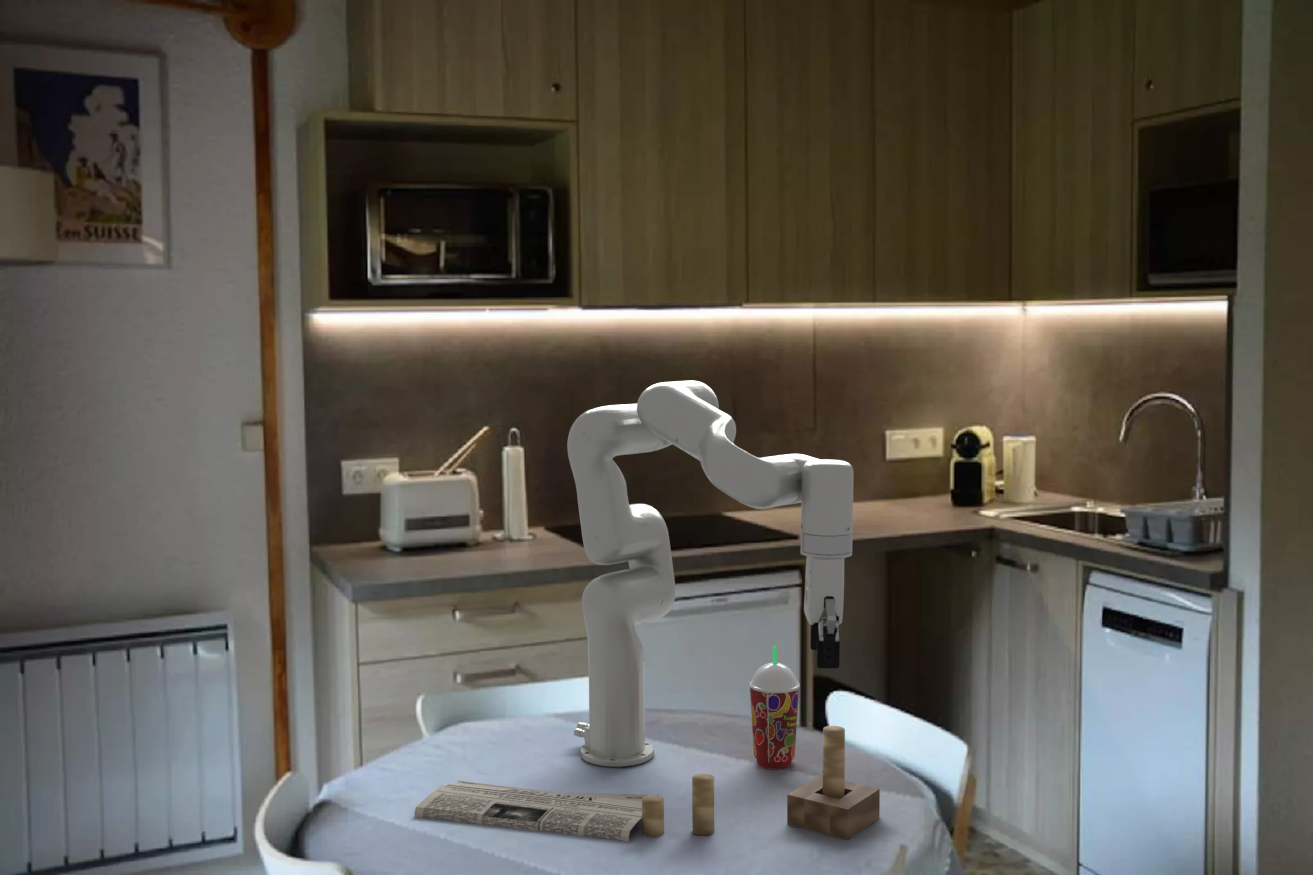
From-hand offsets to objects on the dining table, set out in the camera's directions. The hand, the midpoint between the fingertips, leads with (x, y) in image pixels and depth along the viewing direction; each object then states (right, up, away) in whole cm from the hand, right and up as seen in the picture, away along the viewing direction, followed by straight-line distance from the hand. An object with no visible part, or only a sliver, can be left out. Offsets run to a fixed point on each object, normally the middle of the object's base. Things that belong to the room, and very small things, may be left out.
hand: (824, 658), depth 192 cm
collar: (+2, -24, +1) cm, 24 cm away
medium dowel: (-18, -25, -2) cm, 31 cm away
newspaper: (-43, -25, +5) cm, 50 cm away
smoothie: (-5, -22, +26) cm, 35 cm away
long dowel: (+2, -24, +1) cm, 24 cm away
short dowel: (-25, -25, -3) cm, 36 cm away
